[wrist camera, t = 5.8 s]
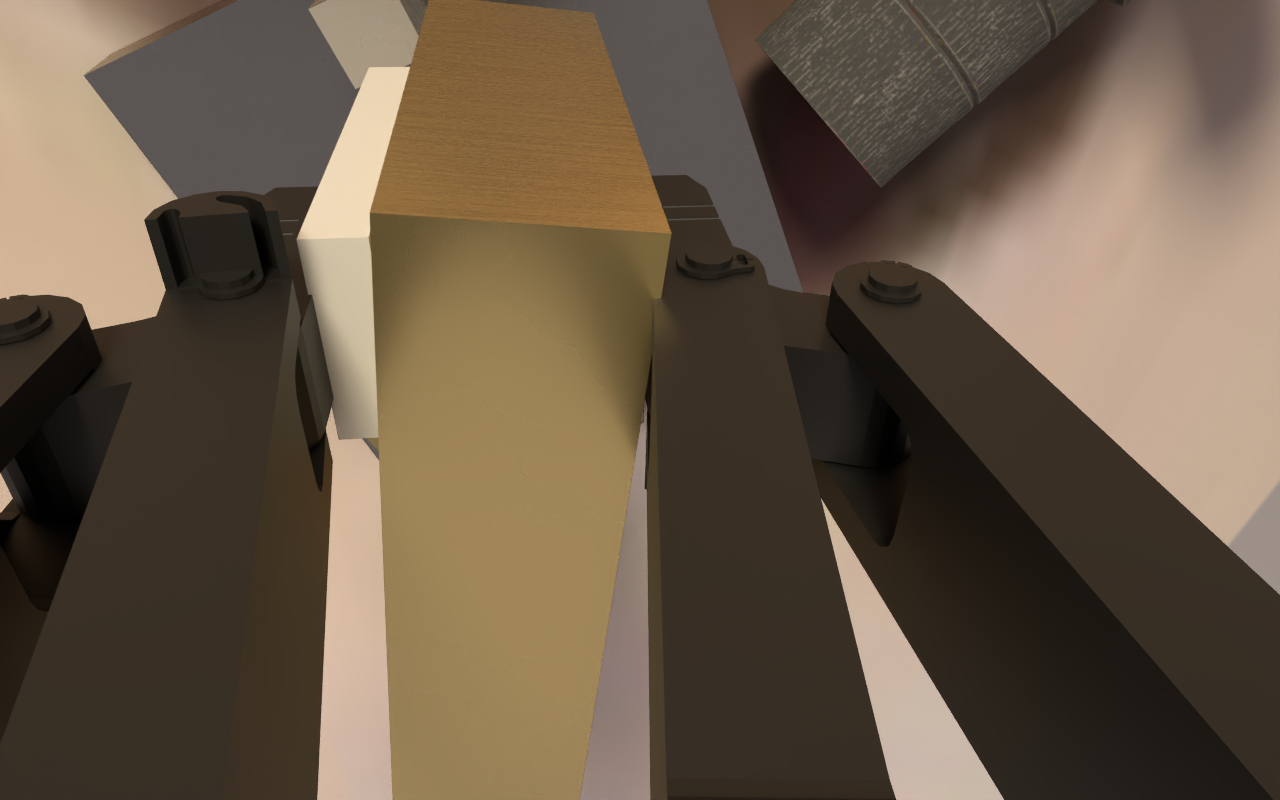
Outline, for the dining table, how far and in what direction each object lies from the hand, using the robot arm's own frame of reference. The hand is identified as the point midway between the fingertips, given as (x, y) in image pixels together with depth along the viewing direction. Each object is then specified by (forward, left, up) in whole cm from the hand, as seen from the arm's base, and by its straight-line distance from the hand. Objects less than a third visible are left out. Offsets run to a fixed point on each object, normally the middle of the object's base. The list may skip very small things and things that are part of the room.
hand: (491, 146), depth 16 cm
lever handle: (+5, -3, -5) cm, 8 cm away
